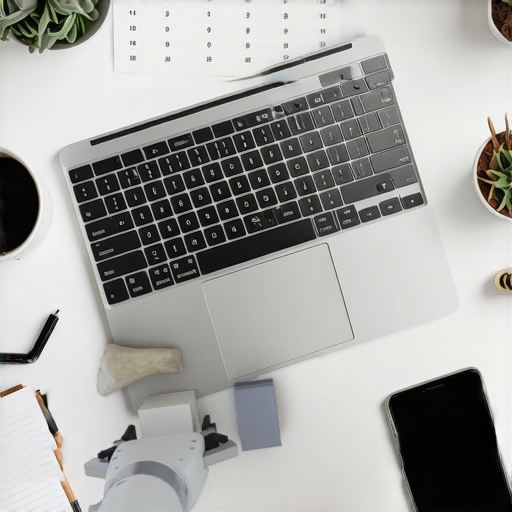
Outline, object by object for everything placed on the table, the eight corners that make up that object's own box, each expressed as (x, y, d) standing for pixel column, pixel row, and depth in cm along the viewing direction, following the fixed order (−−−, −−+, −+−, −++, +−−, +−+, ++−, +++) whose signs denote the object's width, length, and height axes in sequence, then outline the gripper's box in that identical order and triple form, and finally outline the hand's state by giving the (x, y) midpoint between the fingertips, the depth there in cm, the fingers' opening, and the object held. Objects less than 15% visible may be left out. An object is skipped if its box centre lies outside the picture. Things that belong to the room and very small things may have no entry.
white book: (199, 457, 71) (198, 463, 69) (149, 463, 71) (146, 470, 69) (191, 398, 70) (189, 403, 68) (140, 405, 70) (137, 410, 68)
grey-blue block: (280, 436, 74) (281, 446, 71) (242, 441, 74) (242, 451, 71) (272, 378, 73) (273, 385, 70) (234, 383, 73) (234, 390, 70)
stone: (103, 393, 73) (93, 405, 69) (87, 348, 73) (76, 357, 68) (185, 366, 73) (180, 377, 68) (169, 321, 73) (164, 329, 68)
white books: (202, 445, 74) (200, 457, 71) (155, 451, 74) (150, 463, 71) (195, 389, 74) (192, 399, 70) (146, 396, 74) (141, 405, 70)
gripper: (61, 551, 54) (107, 468, 71) (240, 528, 54) (243, 450, 71) (49, 476, 53) (98, 411, 70) (230, 453, 53) (235, 393, 70)
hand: (171, 431), depth 70 cm, fingers open, 9 cm apart
